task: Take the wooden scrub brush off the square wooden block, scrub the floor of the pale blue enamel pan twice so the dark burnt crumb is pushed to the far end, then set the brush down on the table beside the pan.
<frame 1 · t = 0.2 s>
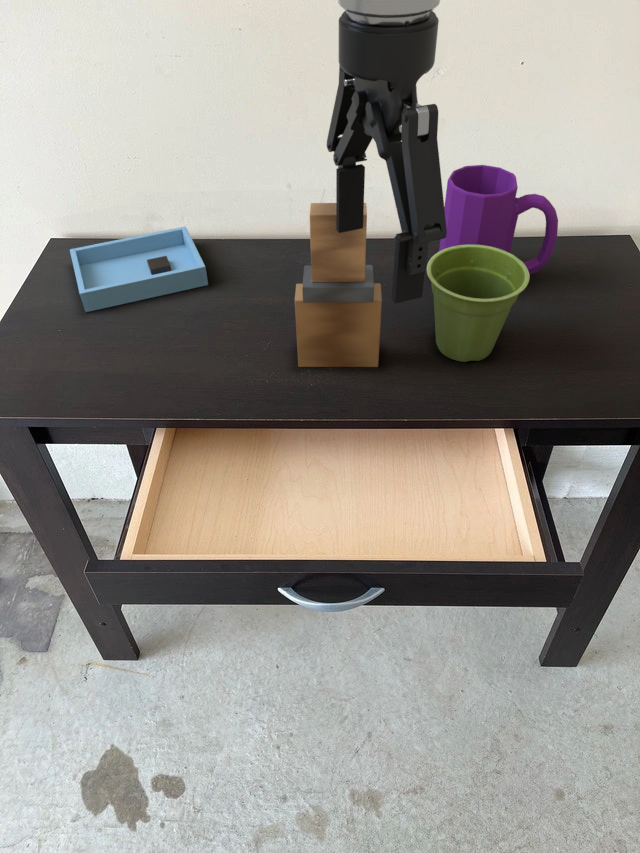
hand: (376, 261, 64), 19 cm above the table, tool pointing down, fingers open, 13 cm apart
brush: (338, 291, 76), point 10 cm above the table, touching square wooden block, gripper
square wooden block: (338, 358, 84), on the table
pan: (140, 276, 98), on the table
mug: (489, 281, 96), on the table
plant pot: (464, 347, 85), on the table
crumb: (159, 268, 98), point 1 cm above the table, touching pan
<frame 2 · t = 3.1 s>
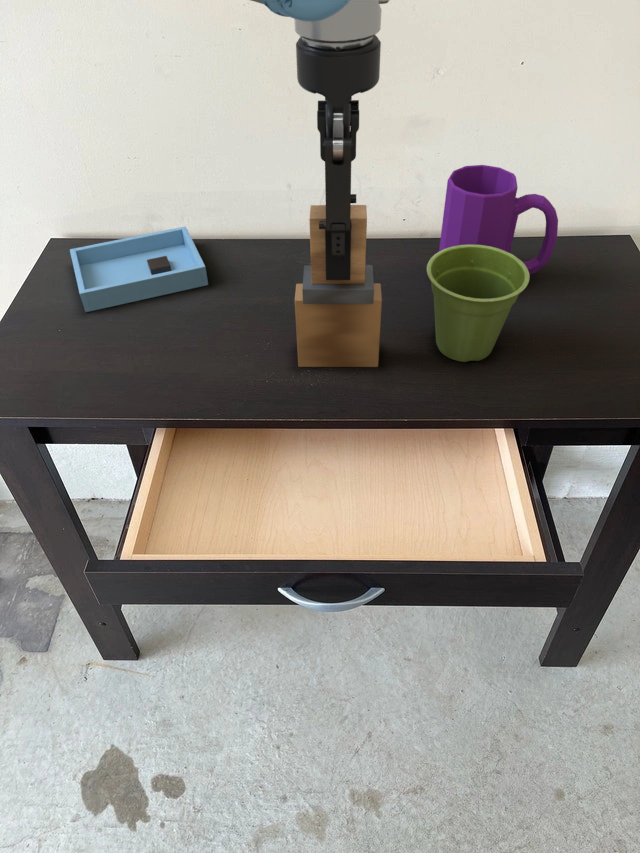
hand: (338, 268, 74), 13 cm above the table, tool pointing down, fingers closed on brush, 3 cm apart
brush: (338, 291, 77), point 10 cm above the table, touching square wooden block, gripper
everything else where it was.
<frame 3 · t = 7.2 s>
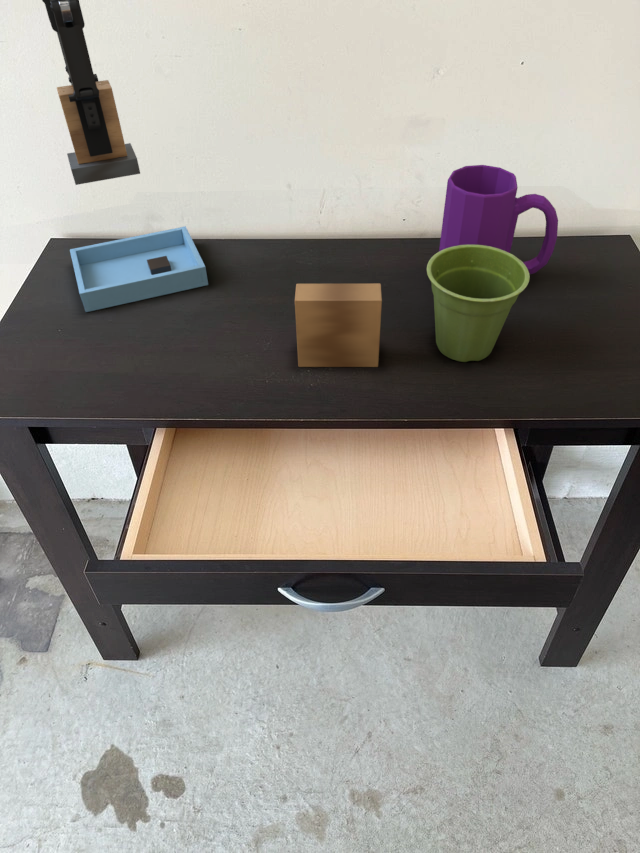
hand: (99, 147, 81), 20 cm above the table, tool pointing down, fingers closed on brush, 3 cm apart
brush: (105, 171, 84), point 17 cm above the table, touching gripper
everything else where it was.
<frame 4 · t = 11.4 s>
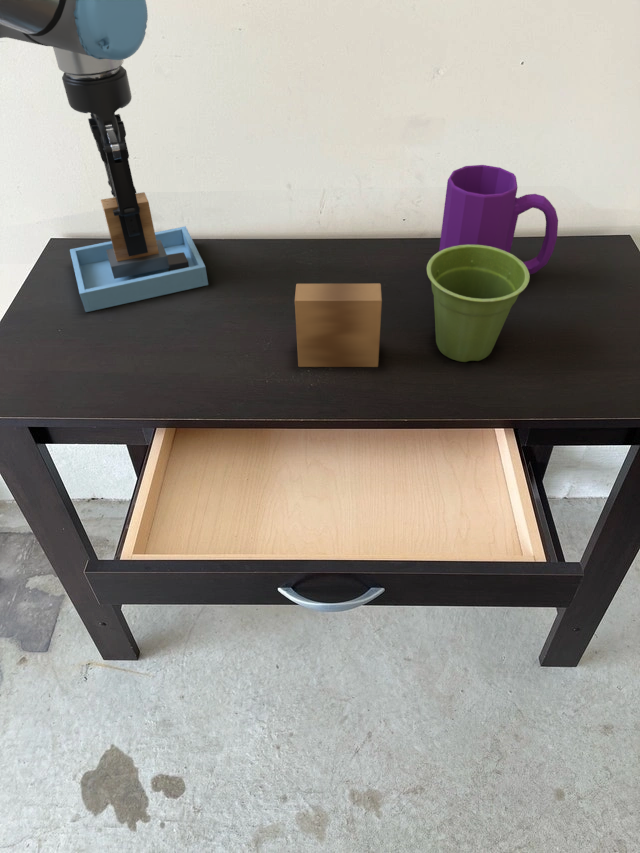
hand: (135, 246, 95), 5 cm above the table, tool pointing down, fingers closed on brush, 3 cm apart
brush: (139, 264, 97), point 2 cm above the table, touching gripper
crumb: (176, 264, 99), point 1 cm above the table, touching pan
everything else where it was.
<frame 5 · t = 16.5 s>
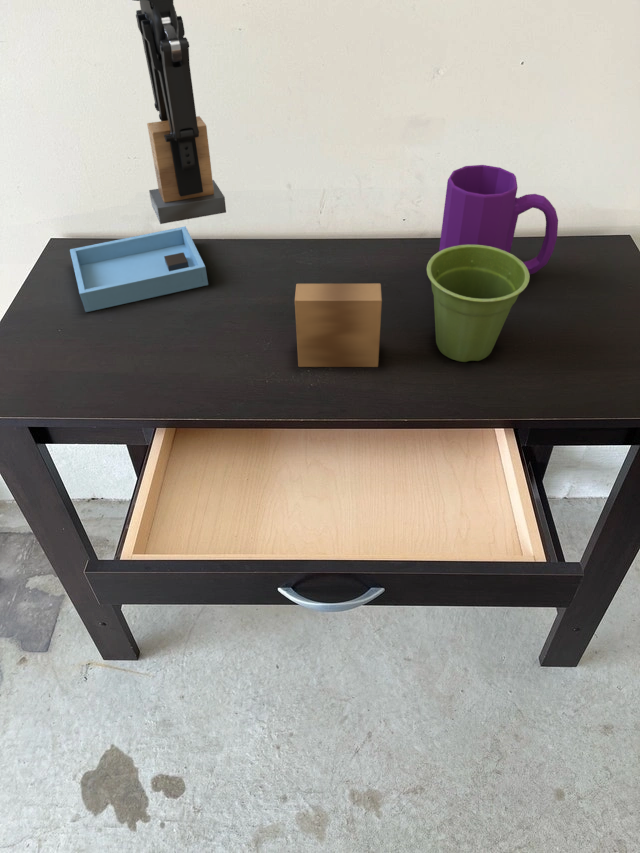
hand: (187, 186, 78), 18 cm above the table, tool pointing down, fingers closed on brush, 3 cm apart
brush: (188, 209, 80), point 16 cm above the table, touching gripper
everything else where it was.
when the fingers open (3 cm above the table, at t = 20.8 s): brush stays where it is, on the table.
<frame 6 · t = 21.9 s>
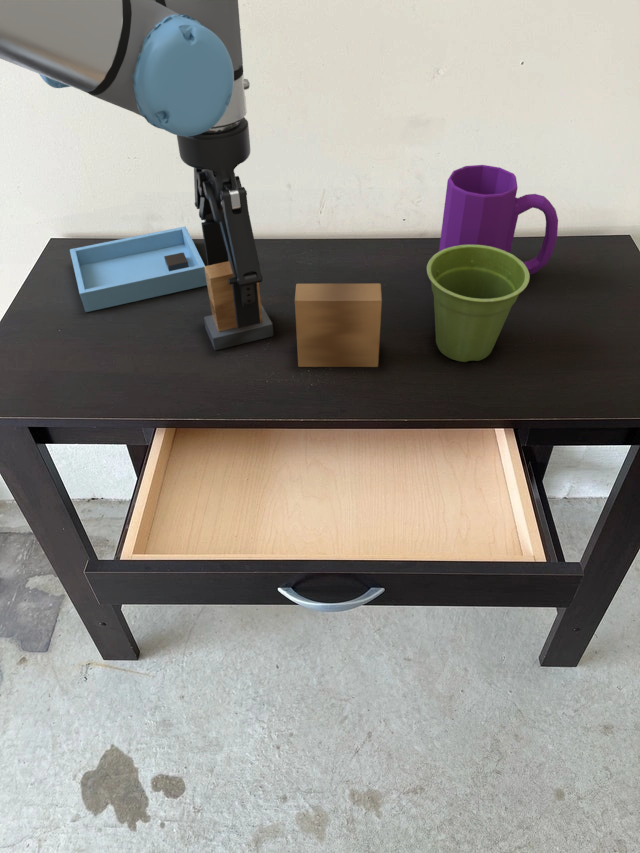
hand: (232, 294, 83), 6 cm above the table, tool pointing down, fingers open, 13 cm apart
brush: (239, 332, 88), on the table
everything else where it was.
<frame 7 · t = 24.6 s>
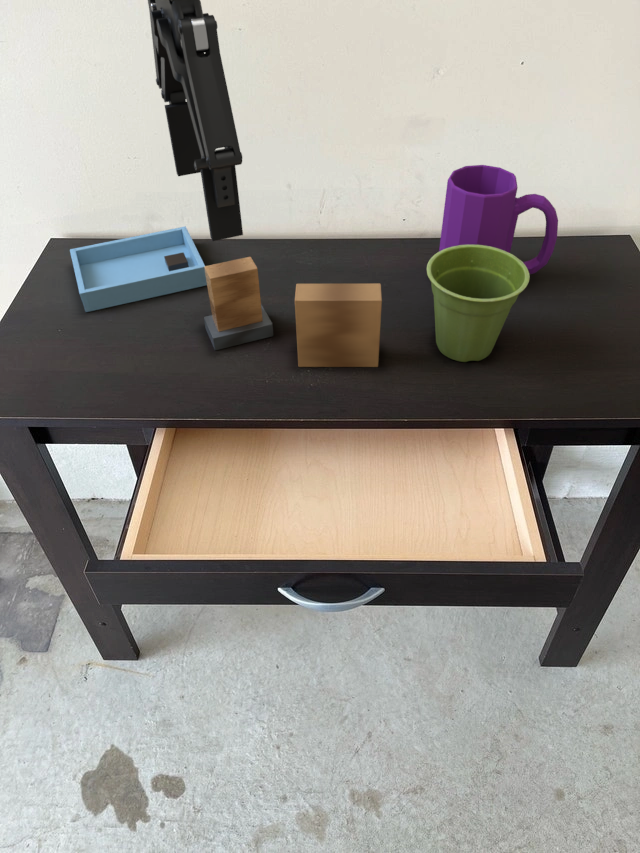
hand: (207, 202, 61), 25 cm above the table, tool pointing down, fingers open, 13 cm apart
nothing on the table moved.
at the end: crumb inside the target area in the pan (0.9 cm from its centre), point 0.6 cm above the pan's base; brush inside the target area (0.2 cm from its centre), on the table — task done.
